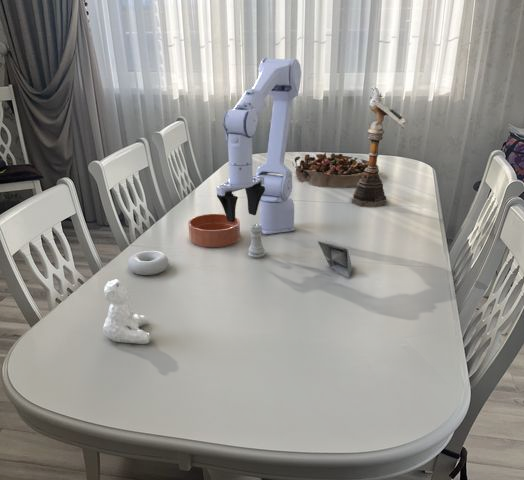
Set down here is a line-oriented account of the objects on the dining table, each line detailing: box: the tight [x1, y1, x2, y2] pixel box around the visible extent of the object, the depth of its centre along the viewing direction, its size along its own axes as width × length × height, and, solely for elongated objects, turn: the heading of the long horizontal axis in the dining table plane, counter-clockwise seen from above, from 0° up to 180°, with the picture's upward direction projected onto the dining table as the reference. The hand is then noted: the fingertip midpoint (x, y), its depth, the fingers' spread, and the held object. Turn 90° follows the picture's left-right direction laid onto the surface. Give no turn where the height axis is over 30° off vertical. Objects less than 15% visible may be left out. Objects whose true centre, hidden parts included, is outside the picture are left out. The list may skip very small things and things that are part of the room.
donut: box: [127, 250, 170, 276], centre depth 135 cm, size 10×4×10 cm
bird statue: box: [351, 86, 407, 208], centre depth 173 cm, size 17×13×35 cm
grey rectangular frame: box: [317, 241, 353, 279], centre depth 134 cm, size 12×6×9 cm
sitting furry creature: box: [102, 278, 151, 345], centre depth 105 cm, size 10×9×12 cm
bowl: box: [187, 213, 241, 248], centre depth 152 cm, size 14×14×5 cm
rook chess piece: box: [247, 223, 266, 259], centre depth 141 cm, size 4×4×8 cm
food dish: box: [291, 152, 380, 188], centre depth 209 cm, size 35×33×8 cm
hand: (241, 217), depth 140 cm, fingers open, 7 cm apart
